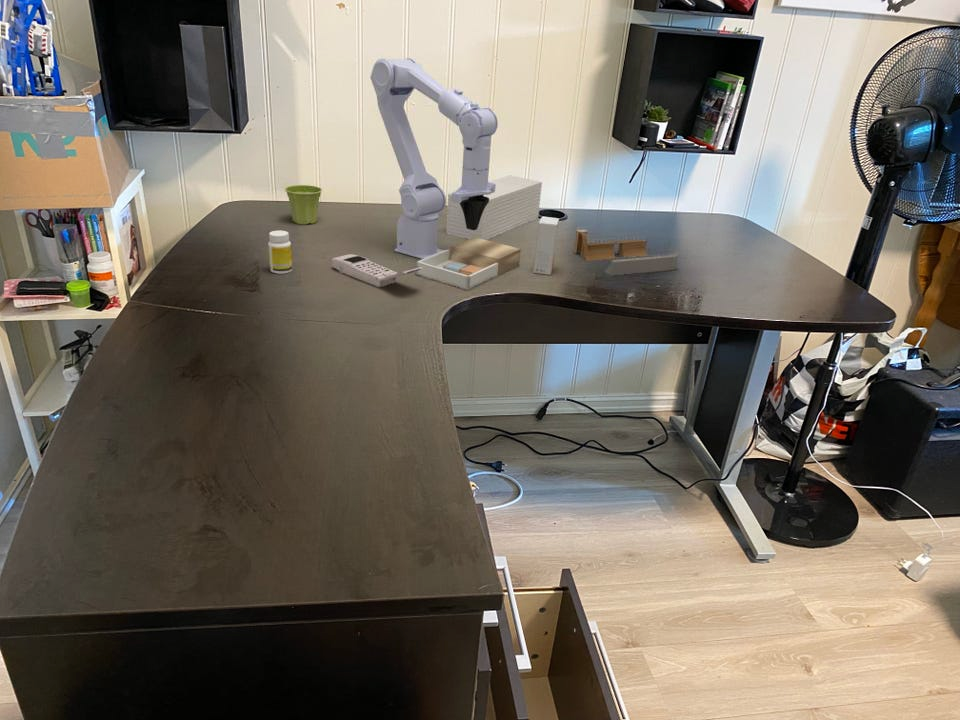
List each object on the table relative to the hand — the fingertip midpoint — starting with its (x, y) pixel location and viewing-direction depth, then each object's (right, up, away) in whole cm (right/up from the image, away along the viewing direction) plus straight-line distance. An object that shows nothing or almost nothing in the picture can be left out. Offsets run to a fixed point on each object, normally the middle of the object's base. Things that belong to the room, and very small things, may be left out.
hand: (471, 228), depth 159 cm
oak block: (+3, -7, +8) cm, 11 cm away
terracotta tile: (0, -9, -3) cm, 10 cm away
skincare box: (+17, -9, +7) cm, 20 cm away
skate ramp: (+36, -4, +21) cm, 42 cm away
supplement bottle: (-41, -10, -5) cm, 43 cm away
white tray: (-3, -10, 0) cm, 11 cm away
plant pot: (-45, +7, +29) cm, 53 cm away
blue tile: (-4, -8, -2) cm, 9 cm away
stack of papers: (+6, +8, +38) cm, 39 cm away
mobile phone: (-21, -12, -5) cm, 25 cm away
